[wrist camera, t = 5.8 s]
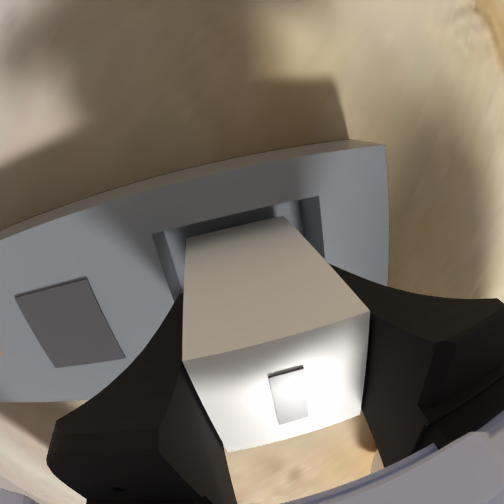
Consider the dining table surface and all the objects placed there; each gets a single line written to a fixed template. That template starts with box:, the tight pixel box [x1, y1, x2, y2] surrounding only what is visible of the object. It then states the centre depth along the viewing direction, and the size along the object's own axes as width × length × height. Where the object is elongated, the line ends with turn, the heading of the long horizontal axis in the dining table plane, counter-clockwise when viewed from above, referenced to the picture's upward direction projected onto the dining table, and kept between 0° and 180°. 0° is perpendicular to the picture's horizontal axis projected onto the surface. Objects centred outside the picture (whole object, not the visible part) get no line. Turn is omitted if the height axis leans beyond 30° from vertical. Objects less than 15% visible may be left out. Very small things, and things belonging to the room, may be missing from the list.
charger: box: [182, 216, 370, 452], centre depth 10 cm, size 4×4×7 cm
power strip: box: [0, 139, 389, 402], centre depth 12 cm, size 28×9×4 cm, turn 100°
